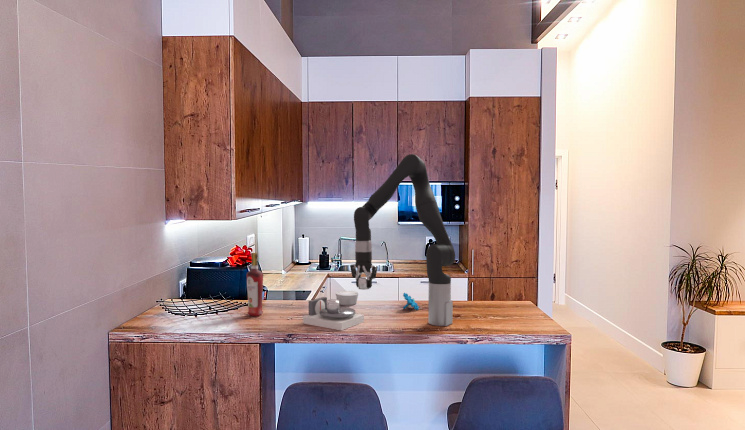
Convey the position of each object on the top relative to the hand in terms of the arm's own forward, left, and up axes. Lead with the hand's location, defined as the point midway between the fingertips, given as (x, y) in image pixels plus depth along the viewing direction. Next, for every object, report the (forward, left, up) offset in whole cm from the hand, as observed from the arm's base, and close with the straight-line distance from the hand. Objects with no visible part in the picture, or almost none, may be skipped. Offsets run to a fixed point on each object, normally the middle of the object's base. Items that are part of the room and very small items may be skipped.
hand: (363, 287), depth 237 cm
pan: (-2, +22, -7) cm, 24 cm away
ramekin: (+17, -11, -12) cm, 23 cm away
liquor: (+37, +31, -12) cm, 50 cm away
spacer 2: (0, 0, 0) cm, 0 cm away
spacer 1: (-2, +25, -6) cm, 26 cm away
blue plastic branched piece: (-15, -17, -12) cm, 26 cm away
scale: (0, +22, -11) cm, 25 cm away
